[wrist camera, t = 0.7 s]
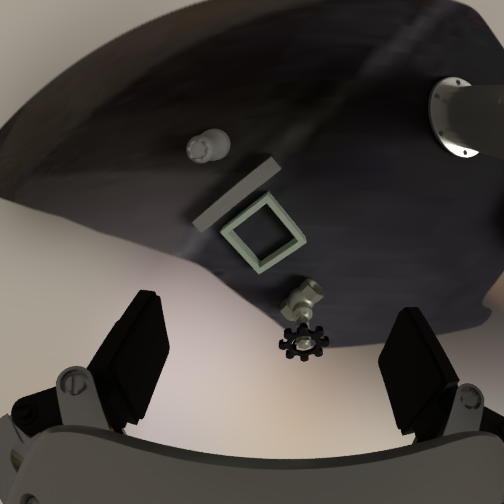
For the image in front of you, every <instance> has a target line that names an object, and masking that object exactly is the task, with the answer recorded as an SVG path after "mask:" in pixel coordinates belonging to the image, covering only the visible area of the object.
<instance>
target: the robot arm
mask: <svg viewBox="0 0 504 504" xmlns="http://www.w3.org/2000/svg"><path fill="white" fill-rule="evenodd" d="M428 115H429V120H430V124H431V127H432V130H433V132H434V134H435V136H436V138H437V139H438V141H439V142H440V144H441V145H442V146H443V147H444V148H445V149H446V150H447V151H449V152H450V153H452V154H454V155H456V156H459V157H464V158H467V157H472V156H474V155H476V154H477V153H479V152H480V153H484V154H487V155H490V156H493V157H496V158H499V159H502V160H504V85H477V86H472V85H471V84H469V83H468V82H466V81H465V80H463V79H460V78H456V77H448V78H444V79H442V80H440V81H438V82H437V83H436V84H435V85H434V87H433V89H432V90H431V93H430V96H429V101H428ZM169 349H170V346H169V341H168V336H167V331H166V327H165V321H164V315H163V311H162V304H161V299H160V296H157V295H156V293H155V292H154V291H148V290H140V291H139V292H138V293H137V295H136V296H135V298H134V299H133V301H132V302H131V303H130V305H129V306H128V308H127V309H126V311H125V312H124V314H123V315H122V317H121V318H120V320H118V321H117V322H116V323H115V325H114V326H113V328H112V329H111V331H110V332H109V334H108V335H107V337H106V338H105V340H104V342H103V343H102V345H101V346H100V348H99V349H98V351H97V352H96V354H95V356H94V357H93V359H92V361H91V362H90V364H89V365H88V367H87V369H86V368H84V367H81V366H73V367H69V368H67V369H65V370H64V371H63V372H61V374H60V375H59V376H58V378H57V381H56V387H53V388H50V389H47V390H44V391H41V392H38V393H35V394H32V395H29V396H26V397H23V398H20V399H18V401H16V402H15V404H14V405H13V407H12V411H11V415H10V416H9V415H8V414H6V415H4V416H3V417H2V418H0V499H1V501H2V503H3V504H504V417H503V416H501V415H500V414H498V413H496V412H494V411H492V410H490V409H488V408H487V407H485V406H484V397H483V394H482V392H481V391H480V390H479V389H478V388H477V387H476V386H474V385H473V384H469V383H465V384H462V385H461V386H460V387H458V385H457V383H458V382H459V381H460V380H459V378H458V376H457V374H456V372H455V370H454V368H453V367H452V365H451V363H450V361H449V359H448V357H447V355H446V354H445V352H444V350H443V348H442V346H441V344H440V343H439V341H438V339H437V337H436V336H435V334H434V332H433V331H432V329H431V327H430V326H429V324H428V322H427V321H426V319H425V317H424V316H423V314H422V313H421V311H420V309H419V308H417V307H405V308H404V309H403V310H402V311H400V312H399V314H398V316H397V319H396V321H395V323H394V326H393V328H392V330H391V332H390V335H389V337H388V339H387V341H386V343H385V345H384V348H383V350H382V352H381V354H380V356H379V359H378V365H379V368H380V371H381V374H382V377H383V380H384V383H385V387H386V390H387V393H388V396H389V400H390V403H391V407H392V410H393V414H394V417H395V421H396V425H397V427H398V429H401V433H402V435H407V434H411V433H415V436H416V437H415V439H414V441H413V443H412V445H407V446H403V447H399V448H394V449H389V450H384V451H378V452H372V453H366V454H360V455H351V456H342V457H331V458H315V459H262V458H245V457H235V456H225V455H217V454H210V453H203V452H197V451H192V450H186V449H181V448H176V447H172V446H167V445H162V444H158V443H154V442H150V441H146V440H142V439H139V438H135V437H132V436H128V435H127V434H126V432H125V430H124V428H125V427H126V424H127V422H128V423H131V424H135V425H137V424H138V421H139V419H143V418H144V416H145V413H146V411H147V408H148V405H149V403H150V400H151V397H152V395H153V392H154V389H155V387H156V384H157V382H158V379H159V377H160V374H161V371H162V369H163V366H164V364H165V361H166V359H167V356H168V354H169Z"/></svg>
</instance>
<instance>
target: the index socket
mask: <svg viewBox="0 0 504 504" xmlns="http://www.w3.org/2000/svg"><path fill="white" fill-rule="evenodd" d="M266 203H267V204H268V205H269V206H270V208H271V209H272V210H273V211H274V212H275V213H276V215H277V216H278V217H279V218H280V220H281V221H282V222H283V223H284V224H285V226H286V227H287V228H288V229H289V230H290V232H291V233H292V234H293V235H294V237H295V238H294V239H293V240H291V241H290V242H288V243H287V244H285V245H284V246H282V247H281V248H280V249H278V250H277V251H275V252H274V253H272V254H271V255H269V256H268V257H266V258H265V259H264V260H262V261H260V260H259V259H258V258H257V257H256V255H255V254H254V253H253V252H252V251H251V250H250V249H249V248H248V247H247V246H246V244H245V243H244V242H243V241H242V240H241V239H240V238H239V237H238V236H237V234H236V233H235V232H234V231H233V230H232V229H234V228H235V227H236V226H238V225H239V224H240V223H241V222H243V221H244V220H245V219H247V218H248V217H249V216H251V215H252V214H253V213H254V212H256V211H257V210H258V209H260V208H261V207H262V206H264V205H265V204H266ZM220 233H221V234H222V235H223V236H224V237H225V238H226V239H227V240H228V241H229V243H230V244H231V245H232V246H233V247H234V248H235V249H236V250H237V251H238V252H239V253H240V254H241V256H242V257H243V258H244V259H245V260H246V261H247V262H248V263H249V264H250V265H251V266H252V267H253V268H254V270H255V271H256V272H257V273H258V274H260V273H262V272H263V271H265V270H266V269H268V268H269V267H271V266H272V265H274V264H275V263H277V262H278V261H280V260H281V259H283V258H284V257H286V256H287V255H289V254H290V253H292V252H293V251H295V250H296V249H298V248H299V247H301V246H302V245H304V244H305V243H307V242H306V237H305V235H304V234H303V233H302V232H301V230H300V229H299V228H298V227H297V225H296V224H295V223H294V222H293V220H292V219H291V218H290V217H289V216H288V214H287V213H286V212H285V211H284V209H283V208H282V207H281V206H280V205H279V203H278V202H277V201H276V200H275V198H274V197H273V196H272V195H271V194H270V193H269V191H268V192H267V193H265V194H264V195H263V196H261V197H260V198H259V199H258V200H256V201H255V202H254V203H252V204H251V205H250V206H249V207H247V208H246V209H245V210H244V211H242V212H241V213H240V214H238V215H237V216H236V217H235V218H233V219H232V220H231V221H230V222H228V223H227V224H226V225H225V226H223V228H222V229H221V231H220Z"/></svg>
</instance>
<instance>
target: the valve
mask: <svg viewBox="0 0 504 504" xmlns="http://www.w3.org/2000/svg"><path fill="white" fill-rule="evenodd" d="M300 286H301V287H298V288H295V289H294V290H293V291H292V292H291V293H290V294H289V297H288V298H286V299H285V300H284V301H283V302H282V303H281V304H280V311H281V313H282V314H283V316H284V317H285V318H286V319H288V320H290V321H296V326H297V332H295V333H292V332H291V329H290V328H287V329H285V330H284V338H285V339H288V340H287V342H283V339H282V340H280V341H279V348H280V349H282V350H285V349H288V350H286V358H288V359H292V358H293V357H294V356H295V355H298V356H300V359H301V361H303V362H305V361H308V359H309V358H308V356H309V355H311V354H315V356H316V357H320V356H322V355H323V350H322V347H321V346H323V347H327V346H328V345H329V338H328V337H327V336H324V339H320V337H321V336H323V334H324V332H323V327H321V326H317V327H315V328H316V330H315V331H314V332H313V331H310V330H309V328H310V325H309V320H310V319H311V318H312V307H313V306H314V304H315V303H317V302H318V301H319V300H320V299H321V298H323V296H324V294H323V290H322V288H321V287H320V286H319V284H318V283H317V282H315V281H314V280H312V279H308V278H307V279H306V280H305V281H304V282H303V283H302V284H301V285H300ZM311 339H313V340H315V341H316V345H315V346H314V347H313V348H311V349H309V350H305V351H301V350H297V349H296V346H297V344H298V346H299V348H302V349H306V348H308V347H309V346H310V345H311ZM293 340H294V342H293ZM292 342H293V344H292Z"/></svg>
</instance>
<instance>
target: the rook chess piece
mask: <svg viewBox="0 0 504 504" xmlns="http://www.w3.org/2000/svg"><path fill="white" fill-rule="evenodd" d="M230 144H231V143H230V139H229V137H228V135H227V134H226V133H225V132H224V131H222V130H220V129H214V128H213V129H210V130H207V131H205V132H203V133H202V134H201V135H198V136H194V137H193V138H192V139H190V140H189V142H188V144H187V149H186V151H187V155H188V157H189V158H190V159H191V160H192V161H194V162H195V163H205V162H207V161H209V160H211V161H215V160H219V159H222V158H223V157H225V156H226V155H227V153H228V152H229V150H230Z"/></svg>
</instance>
